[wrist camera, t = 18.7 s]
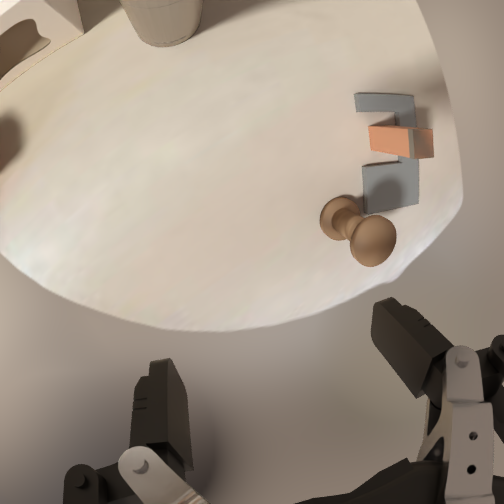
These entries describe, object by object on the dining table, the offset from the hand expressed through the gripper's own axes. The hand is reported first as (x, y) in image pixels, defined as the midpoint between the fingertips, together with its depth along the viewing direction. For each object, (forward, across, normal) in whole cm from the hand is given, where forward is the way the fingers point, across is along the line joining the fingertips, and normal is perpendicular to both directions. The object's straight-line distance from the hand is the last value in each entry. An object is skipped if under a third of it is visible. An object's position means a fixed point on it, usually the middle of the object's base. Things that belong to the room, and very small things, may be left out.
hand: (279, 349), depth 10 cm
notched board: (+33, -30, -1) cm, 45 cm away
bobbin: (+33, -19, +9) cm, 39 cm away
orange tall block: (+33, -28, -4) cm, 44 cm away
